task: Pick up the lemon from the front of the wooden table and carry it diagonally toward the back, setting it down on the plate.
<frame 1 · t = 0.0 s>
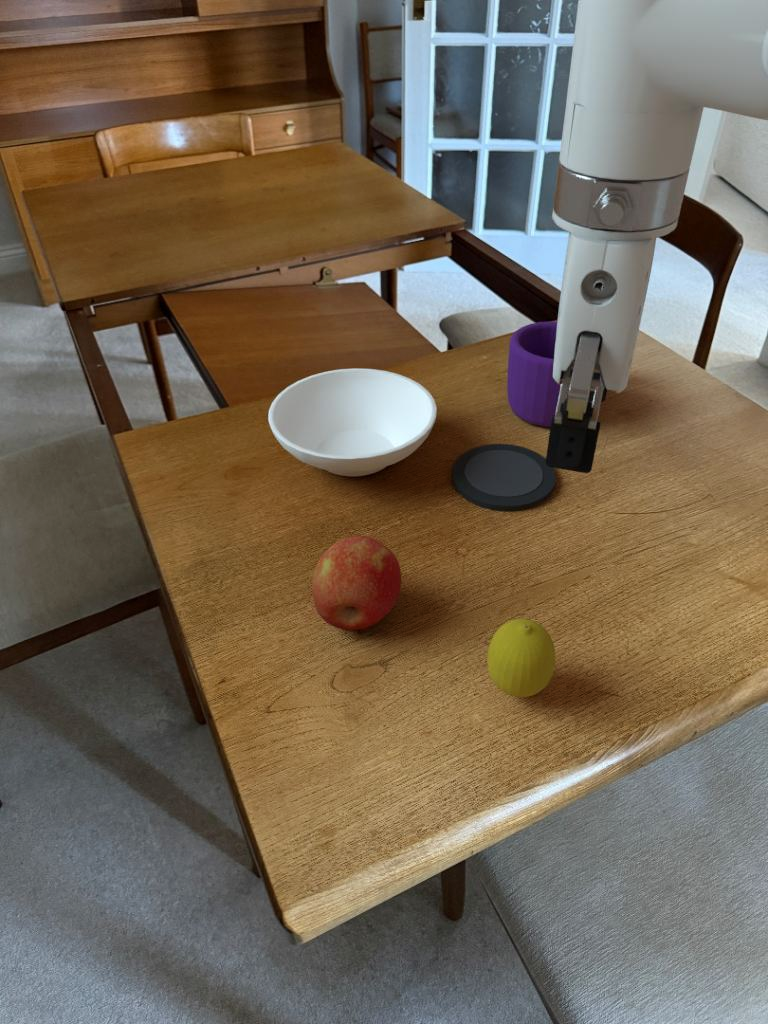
hand: (576, 431, 56), 21 cm above the table, tool pointing down, fingers open, 9 cm apart
mug: (560, 402, 99), on the table
bowl: (355, 458, 90), on the table
apple: (357, 615, 71), on the table
plate: (503, 478, 86), on the table
lemon: (516, 690, 64), on the table
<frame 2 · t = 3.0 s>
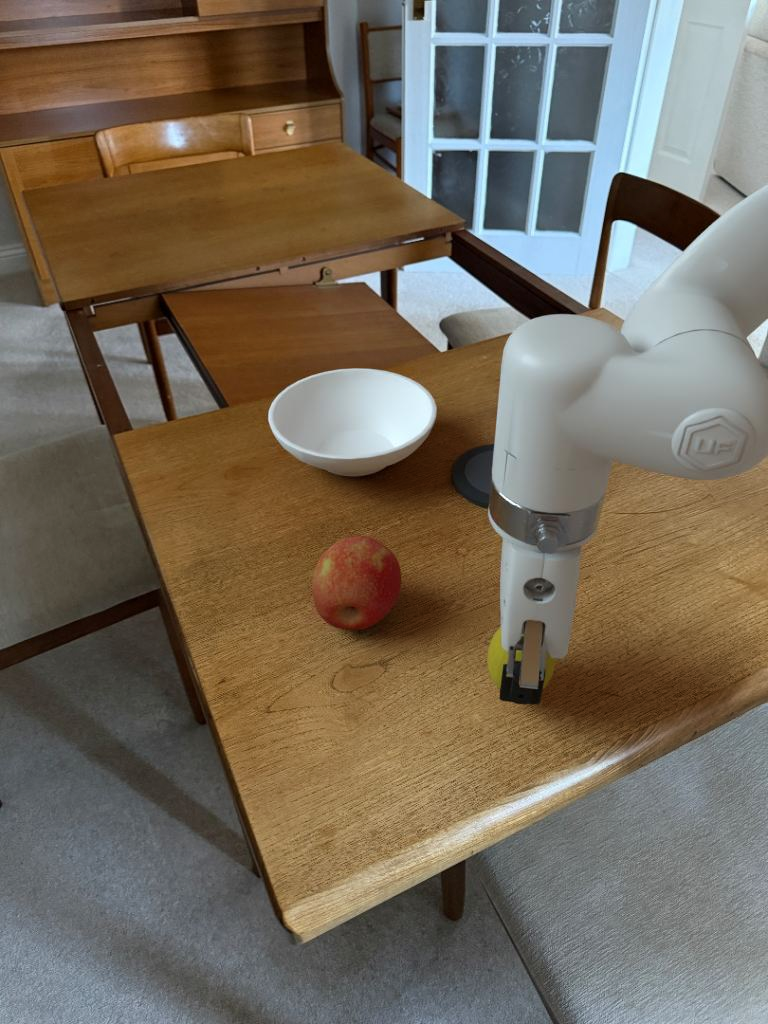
hand: (519, 667, 62), 3 cm above the table, tool pointing down, fingers closed on lemon, 5 cm apart
lemon: (516, 690, 64), on the table, touching gripper
everything else where it was.
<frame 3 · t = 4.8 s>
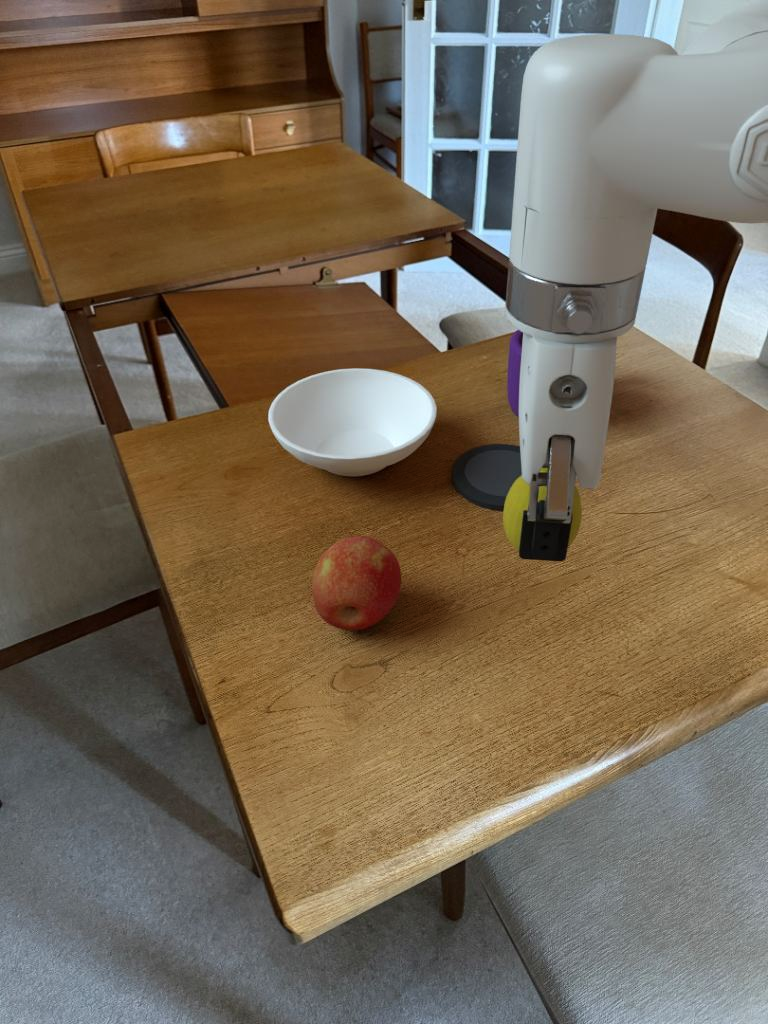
hand: (540, 526, 54), 17 cm above the table, tool pointing down, fingers closed on lemon, 5 cm apart
lemon: (536, 557, 56), point 14 cm above the table, touching gripper
everything else where it was.
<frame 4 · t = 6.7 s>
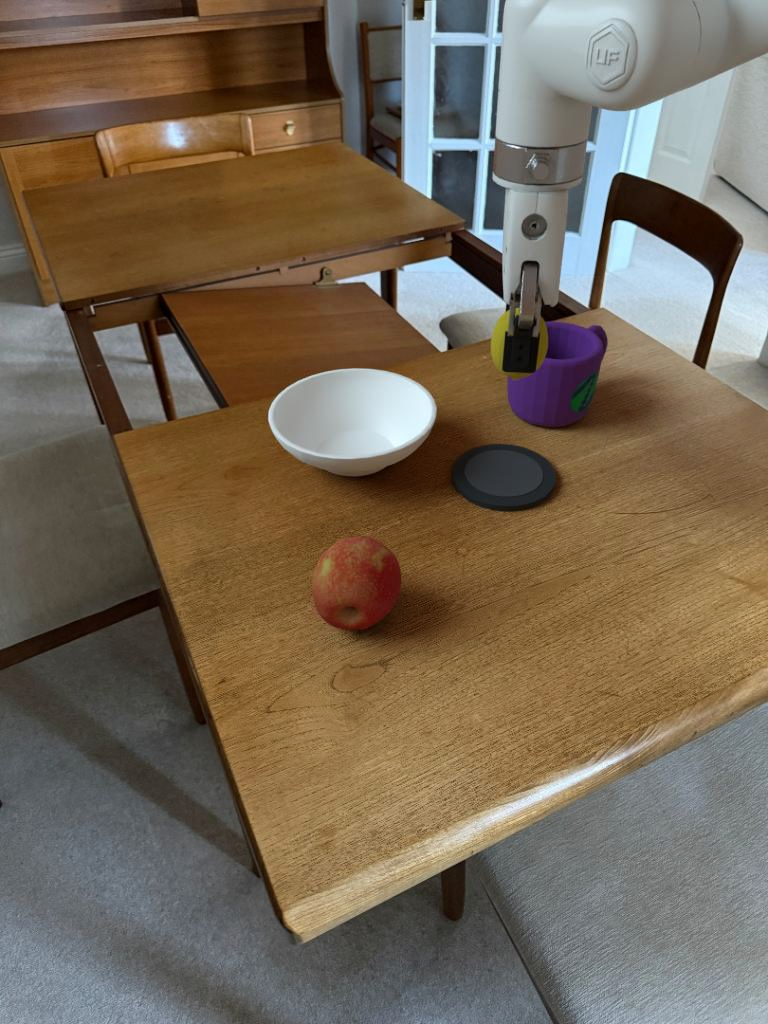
hand: (518, 353, 74), 17 cm above the table, tool pointing down, fingers closed on lemon, 5 cm apart
lemon: (515, 381, 76), point 14 cm above the table, touching gripper
everything else where it was.
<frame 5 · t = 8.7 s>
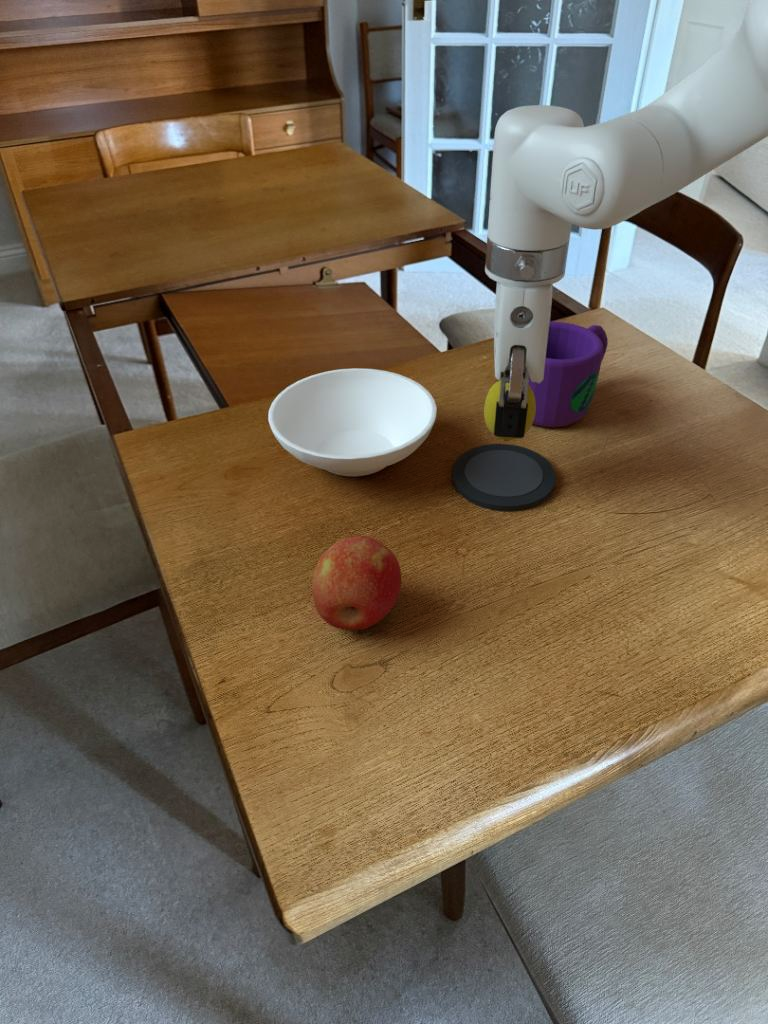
hand: (509, 418, 81), 8 cm above the table, tool pointing down, fingers closed on lemon, 5 cm apart
lemon: (506, 441, 83), point 5 cm above the table, touching gripper
everything else where it was.
when the fingers open (4 cm above the table, at t = 10.3 s): lemon stays where it is, resting on plate.
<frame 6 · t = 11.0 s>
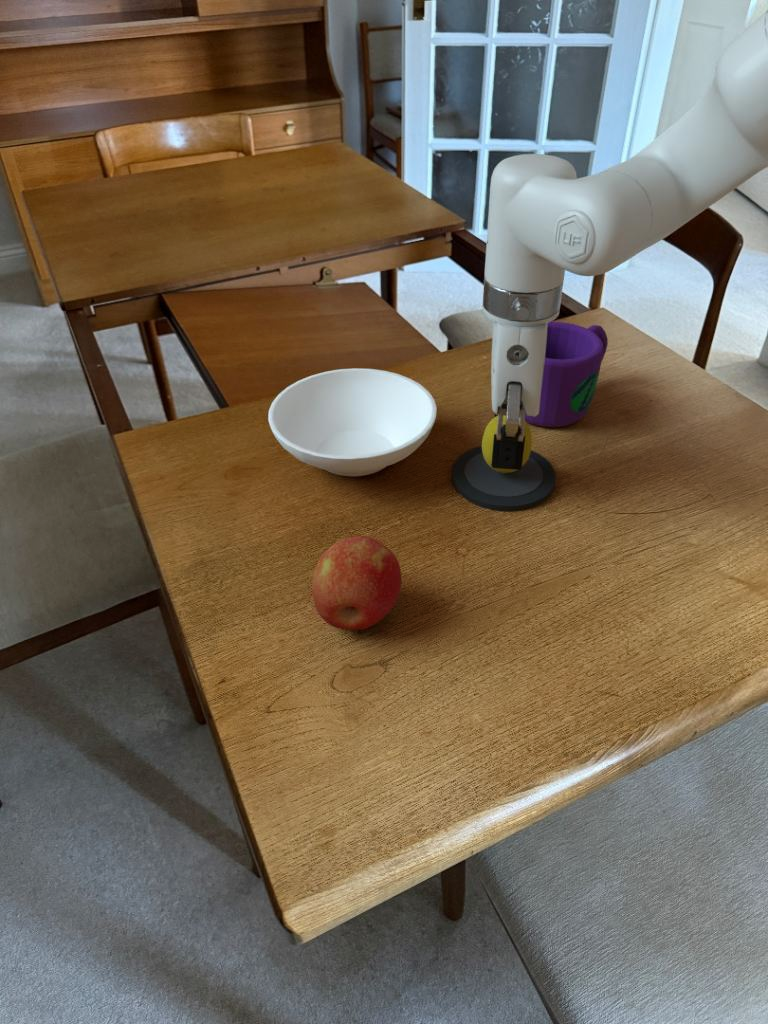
hand: (507, 441, 83), 5 cm above the table, tool pointing down, fingers open, 9 cm apart
lemon: (503, 474, 86), point 1 cm above the table, touching plate
everything else where it was.
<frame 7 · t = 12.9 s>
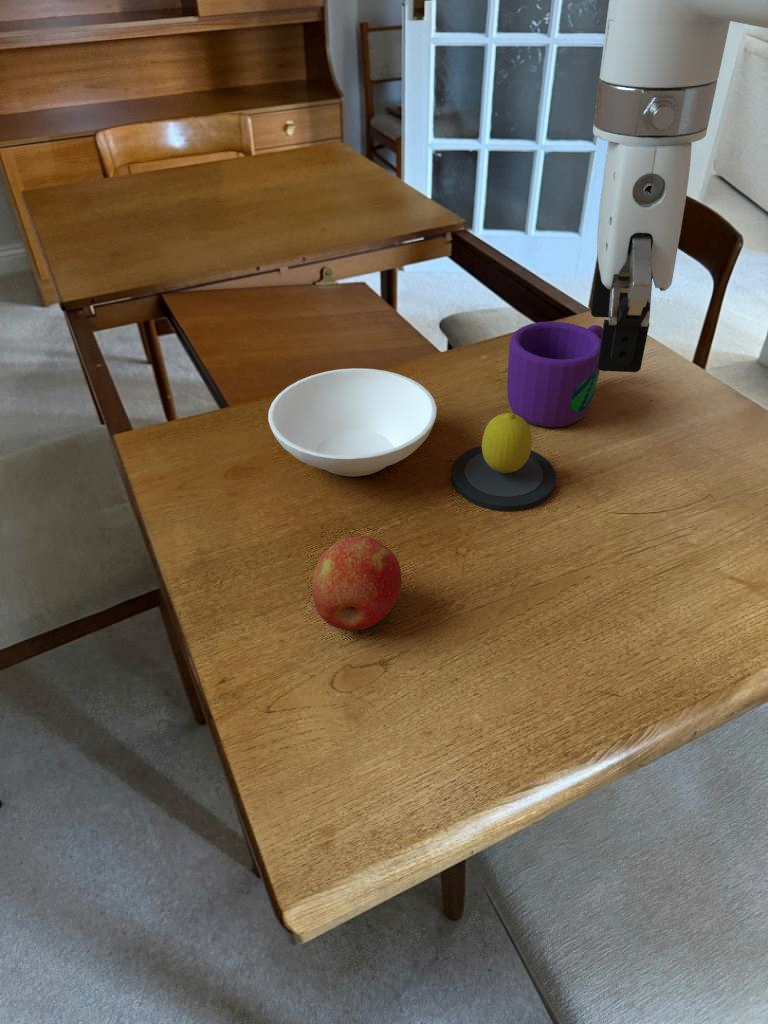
hand: (613, 341, 61), 24 cm above the table, tool pointing down, fingers open, 9 cm apart
nothing on the table moved.
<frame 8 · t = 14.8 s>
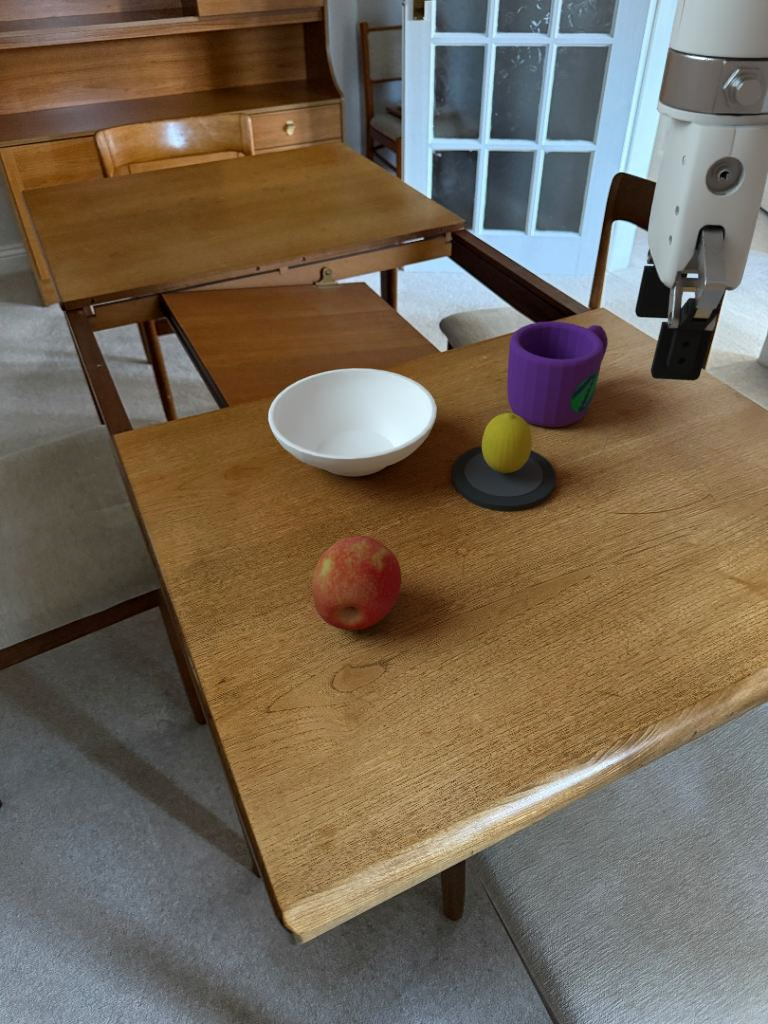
hand: (663, 344, 55), 26 cm above the table, tool pointing down, fingers open, 9 cm apart
nothing on the table moved.
at the end: lemon inside the target area on the plate (0.1 cm from its centre), point 0.7 cm above the plate's base; lemon moved 29.8 cm from its start; the gripper is holding nothing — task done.
